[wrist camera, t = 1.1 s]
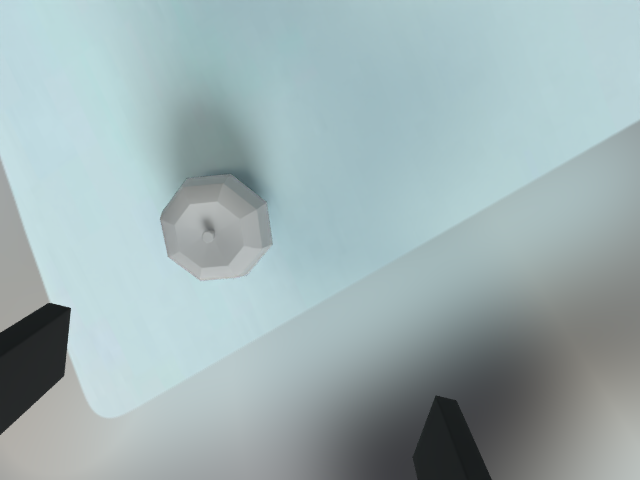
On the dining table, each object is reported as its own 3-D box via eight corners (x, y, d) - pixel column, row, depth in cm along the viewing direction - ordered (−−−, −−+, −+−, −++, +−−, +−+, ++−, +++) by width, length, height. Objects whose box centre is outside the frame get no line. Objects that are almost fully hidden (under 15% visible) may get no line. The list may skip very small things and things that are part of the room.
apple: (173, 246, 34) (136, 274, 28) (193, 152, 32) (158, 159, 26) (267, 274, 35) (252, 308, 28) (293, 183, 33) (283, 197, 26)
